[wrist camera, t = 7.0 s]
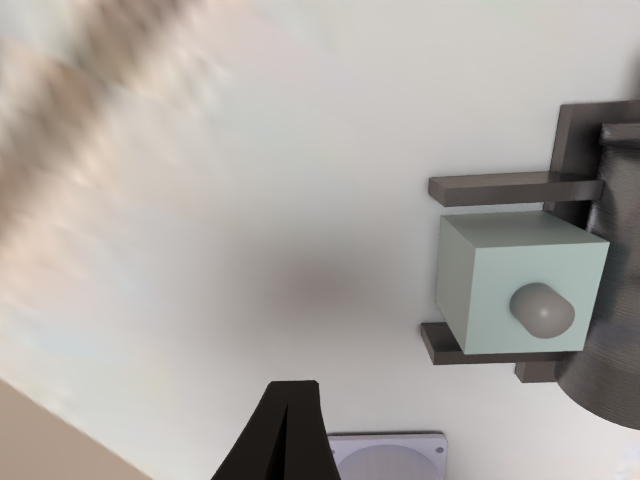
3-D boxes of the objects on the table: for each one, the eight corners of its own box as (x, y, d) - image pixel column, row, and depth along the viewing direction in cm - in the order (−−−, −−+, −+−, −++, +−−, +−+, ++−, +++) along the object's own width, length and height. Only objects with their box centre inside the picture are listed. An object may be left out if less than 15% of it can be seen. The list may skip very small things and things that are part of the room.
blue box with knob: (526, 297, 19) (603, 370, 14) (434, 301, 19) (475, 374, 14) (541, 210, 17) (636, 254, 12) (440, 215, 17) (489, 260, 12)
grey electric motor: (625, 369, 20) (728, 459, 15) (419, 375, 21) (449, 464, 16) (727, 44, 14) (953, 6, 9) (435, 63, 15) (493, 38, 10)
